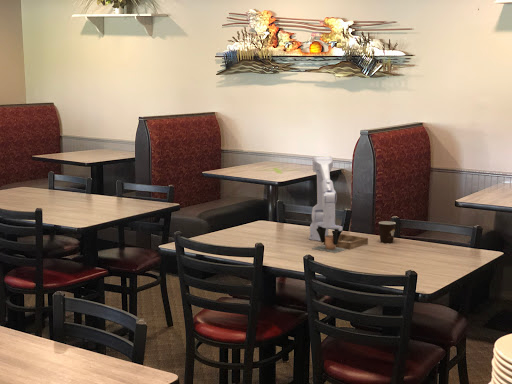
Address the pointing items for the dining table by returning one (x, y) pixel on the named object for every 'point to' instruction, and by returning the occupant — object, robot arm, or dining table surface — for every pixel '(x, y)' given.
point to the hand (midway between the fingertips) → (329, 243)
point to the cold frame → (354, 240)
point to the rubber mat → (328, 249)
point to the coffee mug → (387, 231)
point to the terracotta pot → (329, 242)
